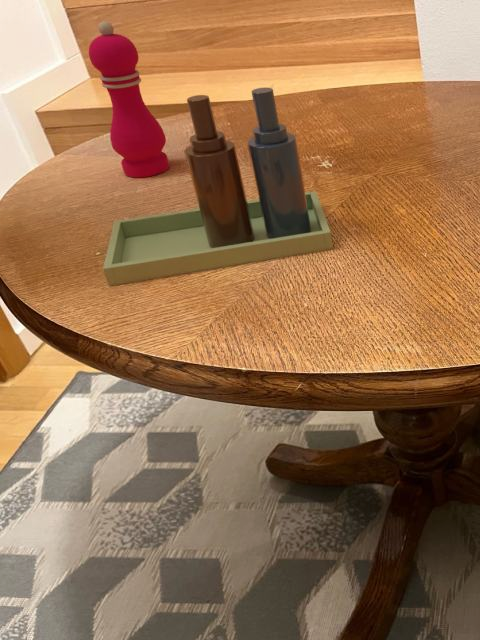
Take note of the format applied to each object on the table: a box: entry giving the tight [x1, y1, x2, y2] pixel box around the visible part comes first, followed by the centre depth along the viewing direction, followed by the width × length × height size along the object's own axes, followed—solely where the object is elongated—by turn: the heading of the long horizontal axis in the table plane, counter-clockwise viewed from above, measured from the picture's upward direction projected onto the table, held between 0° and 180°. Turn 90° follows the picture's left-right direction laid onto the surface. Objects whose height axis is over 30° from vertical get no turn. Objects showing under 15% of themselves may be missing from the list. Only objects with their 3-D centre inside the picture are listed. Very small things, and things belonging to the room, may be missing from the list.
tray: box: [102, 190, 334, 287], centre depth 83 cm, size 24×13×2 cm, turn 107°
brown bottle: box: [184, 94, 255, 248], centre depth 80 cm, size 5×5×16 cm
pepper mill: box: [88, 21, 170, 178], centre depth 100 cm, size 7×7×20 cm
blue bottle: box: [246, 87, 311, 239], centre depth 81 cm, size 5×5×16 cm
